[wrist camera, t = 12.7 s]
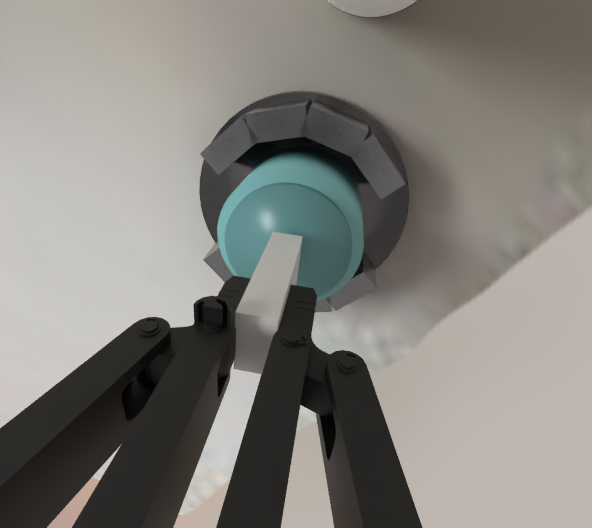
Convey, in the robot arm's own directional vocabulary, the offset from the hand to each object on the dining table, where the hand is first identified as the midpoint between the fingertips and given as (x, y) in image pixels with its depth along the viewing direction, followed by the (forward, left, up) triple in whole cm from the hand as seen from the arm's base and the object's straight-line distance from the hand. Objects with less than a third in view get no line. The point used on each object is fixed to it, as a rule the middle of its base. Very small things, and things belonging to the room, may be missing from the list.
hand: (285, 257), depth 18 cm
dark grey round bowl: (0, 0, -8) cm, 8 cm away
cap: (0, 0, -7) cm, 7 cm away
